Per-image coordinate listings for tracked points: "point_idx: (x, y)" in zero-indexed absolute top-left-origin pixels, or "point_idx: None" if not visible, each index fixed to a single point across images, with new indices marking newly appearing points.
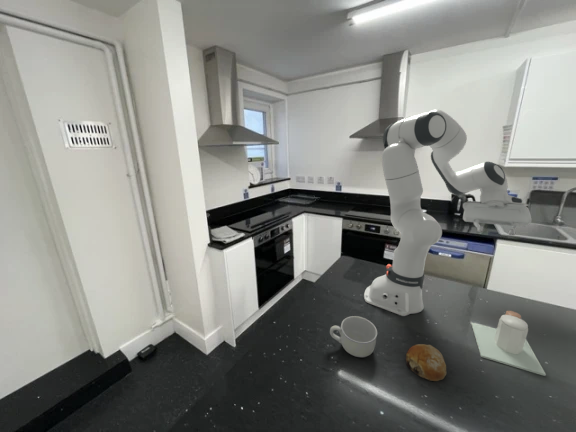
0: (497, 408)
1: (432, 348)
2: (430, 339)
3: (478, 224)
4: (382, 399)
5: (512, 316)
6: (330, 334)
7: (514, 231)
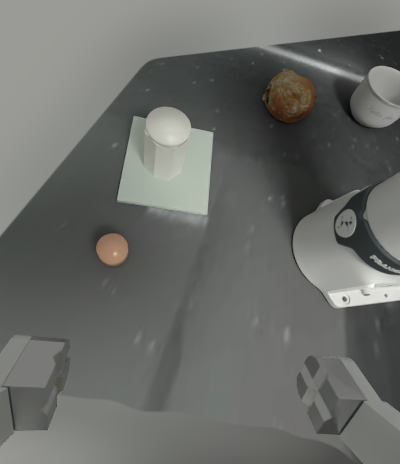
0: (216, 67)
1: (294, 85)
2: (279, 153)
3: (397, 418)
4: (321, 61)
5: (164, 140)
6: None
7: (12, 353)
